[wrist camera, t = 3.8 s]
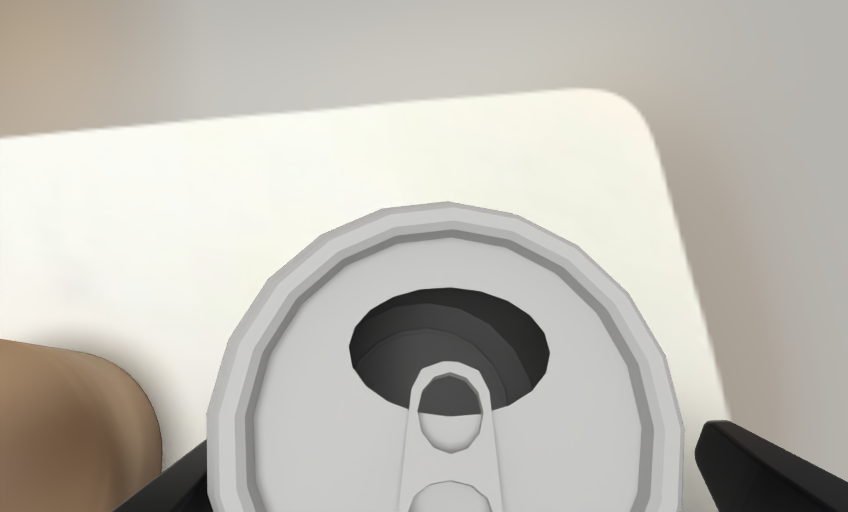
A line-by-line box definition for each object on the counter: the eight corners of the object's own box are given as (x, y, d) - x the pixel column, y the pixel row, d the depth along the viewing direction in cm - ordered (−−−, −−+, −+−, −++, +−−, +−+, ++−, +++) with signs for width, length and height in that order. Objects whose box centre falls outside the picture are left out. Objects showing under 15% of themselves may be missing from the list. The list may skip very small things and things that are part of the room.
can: (527, 311, 19) (706, 166, 8) (534, 533, 17) (795, 798, 6) (326, 304, 19) (200, 147, 8) (307, 528, 17) (92, 788, 5)
